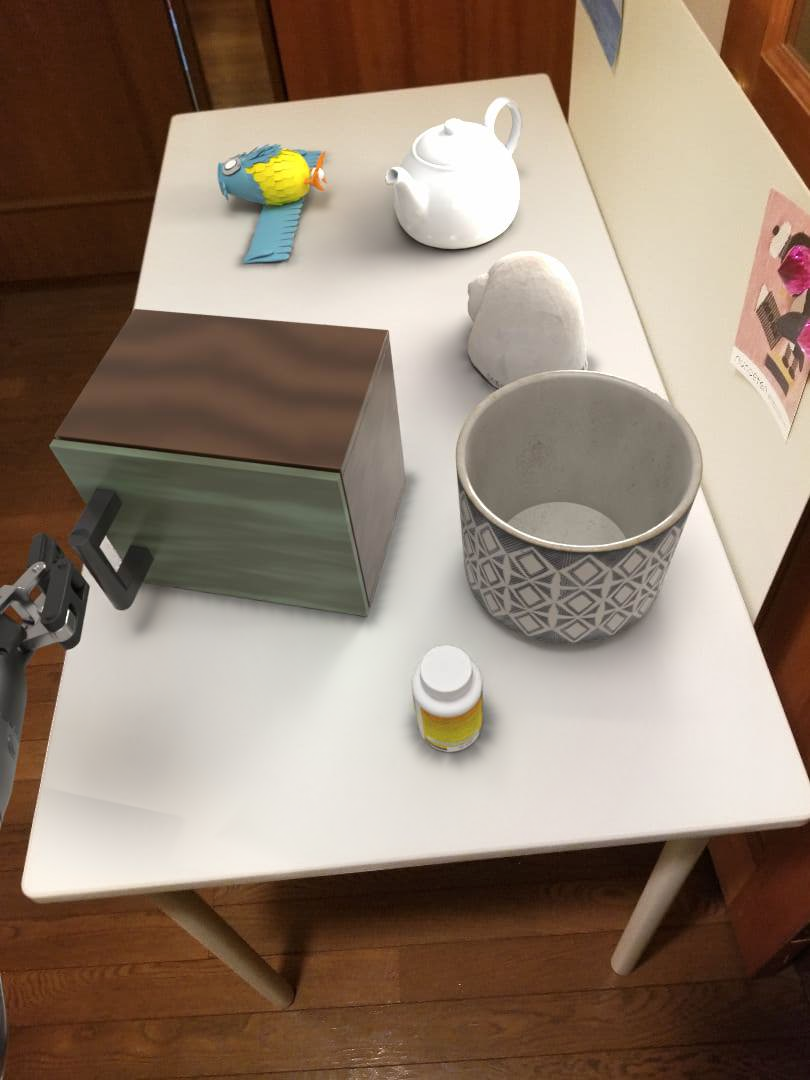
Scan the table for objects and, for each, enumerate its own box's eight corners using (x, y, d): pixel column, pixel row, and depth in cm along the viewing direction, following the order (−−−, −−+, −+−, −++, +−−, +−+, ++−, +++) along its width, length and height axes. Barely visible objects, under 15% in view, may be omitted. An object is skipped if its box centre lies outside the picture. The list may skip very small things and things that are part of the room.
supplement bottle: (494, 736, 68) (496, 682, 60) (435, 765, 67) (428, 714, 58) (463, 682, 71) (461, 624, 63) (406, 709, 70) (396, 653, 62)
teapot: (530, 252, 107) (536, 152, 96) (392, 261, 108) (382, 163, 97) (519, 176, 118) (523, 78, 107) (394, 185, 119) (385, 89, 108)
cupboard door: (351, 672, 72) (315, 544, 56) (109, 632, 77) (12, 503, 61) (369, 609, 76) (340, 472, 60) (137, 574, 80) (53, 438, 65)
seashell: (539, 353, 105) (478, 255, 99) (631, 325, 95) (570, 213, 88) (486, 427, 98) (417, 326, 91) (580, 404, 87) (510, 288, 81)
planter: (688, 525, 79) (729, 404, 66) (628, 689, 69) (663, 586, 56) (505, 469, 85) (509, 347, 72) (427, 612, 75) (415, 502, 62)
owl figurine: (300, 203, 102) (187, 207, 104) (313, 262, 109) (206, 264, 111) (335, 95, 118) (236, 100, 120) (344, 153, 125) (250, 157, 127)
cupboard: (370, 608, 76) (340, 469, 60) (139, 573, 81) (53, 435, 65) (406, 480, 85) (388, 329, 69) (196, 455, 90) (134, 308, 74)
